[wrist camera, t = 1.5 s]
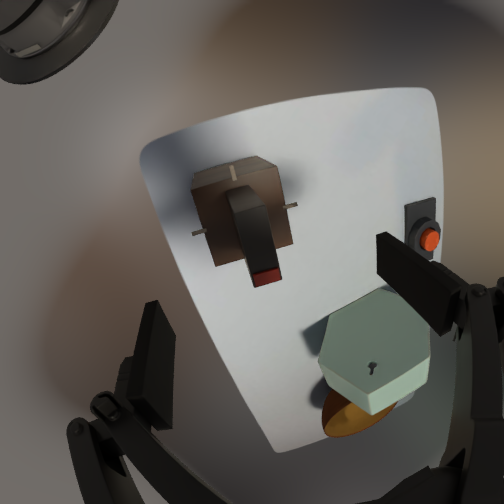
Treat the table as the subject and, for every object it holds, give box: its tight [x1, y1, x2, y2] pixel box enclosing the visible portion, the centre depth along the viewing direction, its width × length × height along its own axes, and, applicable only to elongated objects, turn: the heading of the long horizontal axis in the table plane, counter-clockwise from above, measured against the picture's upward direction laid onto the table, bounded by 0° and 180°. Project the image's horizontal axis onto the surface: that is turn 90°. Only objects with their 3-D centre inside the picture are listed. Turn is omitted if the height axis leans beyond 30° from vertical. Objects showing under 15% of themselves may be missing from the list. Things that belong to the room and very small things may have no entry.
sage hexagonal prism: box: [318, 288, 430, 415], centre depth 40 cm, size 17×8×21 cm
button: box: [420, 228, 439, 251], centre depth 40 cm, size 4×4×2 cm
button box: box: [405, 197, 441, 260], centre depth 42 cm, size 12×7×2 cm, turn 14°
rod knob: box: [225, 185, 282, 288], centre depth 23 cm, size 6×2×7 cm, turn 14°
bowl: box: [322, 374, 398, 438], centre depth 52 cm, size 18×18×10 cm
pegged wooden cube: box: [191, 156, 298, 267], centre depth 30 cm, size 10×10×10 cm
